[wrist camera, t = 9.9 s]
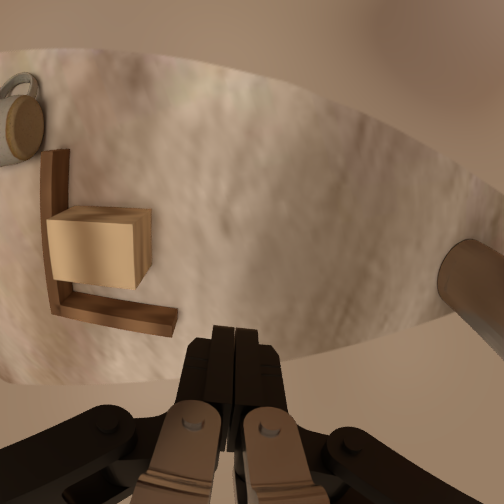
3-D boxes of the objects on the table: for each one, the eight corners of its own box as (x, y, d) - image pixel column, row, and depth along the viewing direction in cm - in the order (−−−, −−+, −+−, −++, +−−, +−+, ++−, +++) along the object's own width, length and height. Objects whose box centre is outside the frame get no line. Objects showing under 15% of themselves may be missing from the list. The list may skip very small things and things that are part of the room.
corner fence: (189, 155, 28) (183, 157, 25) (177, 319, 34) (171, 337, 31) (58, 149, 27) (41, 151, 24) (64, 300, 33) (51, 313, 30)
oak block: (151, 208, 30) (132, 224, 24) (152, 264, 32) (135, 289, 26) (75, 205, 30) (46, 219, 24) (79, 257, 32) (53, 279, 26)
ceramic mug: (48, 158, 27) (5, 165, 20) (0, 166, 27) (-42, 176, 20) (52, 67, 24) (12, 54, 17) (3, 83, 24) (-38, 77, 16)
